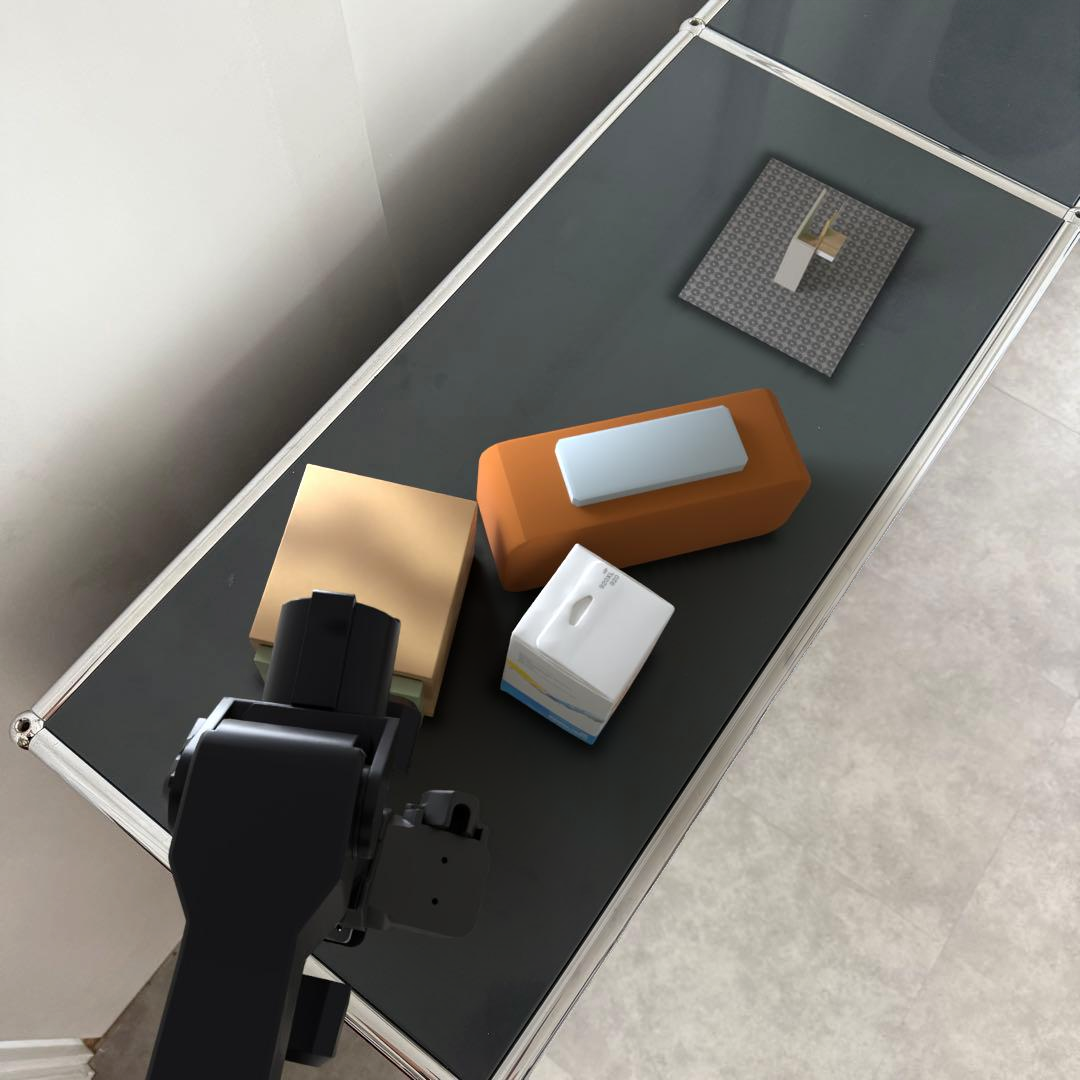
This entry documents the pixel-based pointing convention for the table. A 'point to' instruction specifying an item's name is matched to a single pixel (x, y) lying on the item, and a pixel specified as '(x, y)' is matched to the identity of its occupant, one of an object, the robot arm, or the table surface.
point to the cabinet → (378, 562)
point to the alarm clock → (640, 486)
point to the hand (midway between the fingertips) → (336, 883)
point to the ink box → (583, 643)
